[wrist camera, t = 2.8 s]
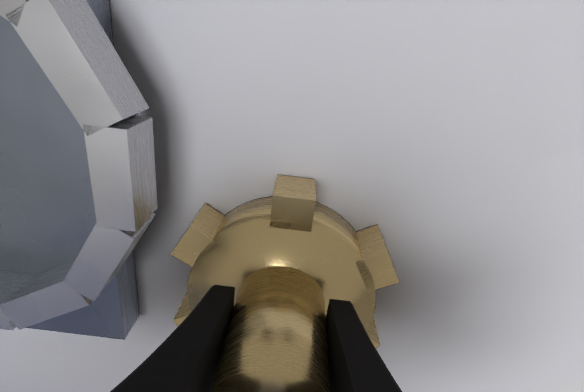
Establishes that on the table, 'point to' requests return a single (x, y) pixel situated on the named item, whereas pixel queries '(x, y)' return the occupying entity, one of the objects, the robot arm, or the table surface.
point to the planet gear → (282, 284)
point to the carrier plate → (70, 171)
